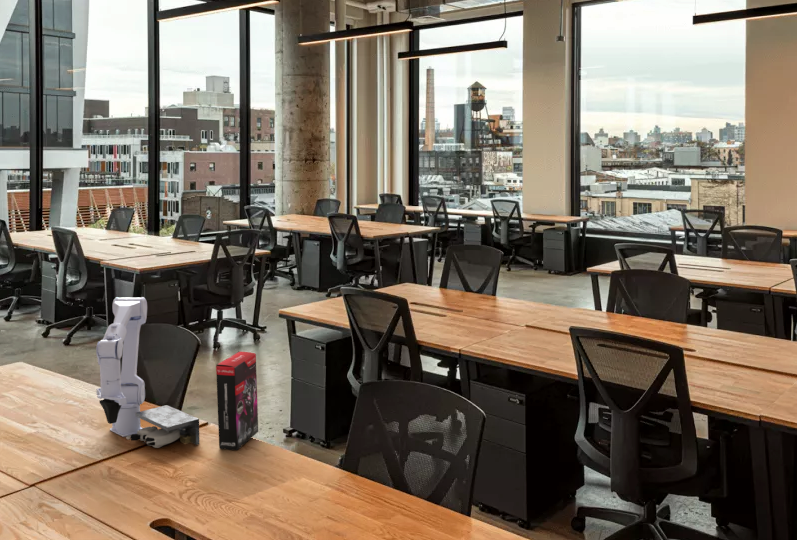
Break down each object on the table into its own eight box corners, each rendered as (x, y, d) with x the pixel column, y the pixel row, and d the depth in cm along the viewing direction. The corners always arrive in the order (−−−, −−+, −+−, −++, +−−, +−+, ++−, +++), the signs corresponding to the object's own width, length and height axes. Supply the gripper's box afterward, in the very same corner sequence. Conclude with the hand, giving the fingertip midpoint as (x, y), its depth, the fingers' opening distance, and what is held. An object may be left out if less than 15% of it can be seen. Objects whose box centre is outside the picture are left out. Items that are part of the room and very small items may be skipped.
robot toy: (123, 447, 234) (158, 453, 227) (122, 433, 234) (156, 438, 227) (154, 435, 245) (187, 440, 238) (153, 421, 245) (186, 426, 237)
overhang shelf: (136, 437, 240) (135, 412, 239) (167, 429, 248) (166, 405, 247) (168, 453, 227) (167, 427, 226) (199, 443, 235) (199, 418, 234)
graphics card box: (237, 452, 229) (236, 365, 226) (216, 450, 231) (215, 363, 227) (258, 432, 246) (258, 352, 242) (238, 431, 247) (238, 350, 244)
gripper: (86, 376, 226) (87, 420, 228) (109, 386, 216) (111, 431, 218) (108, 372, 231) (109, 414, 233) (132, 381, 222) (133, 425, 224)
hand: (112, 422), depth 226 cm, fingers closed
